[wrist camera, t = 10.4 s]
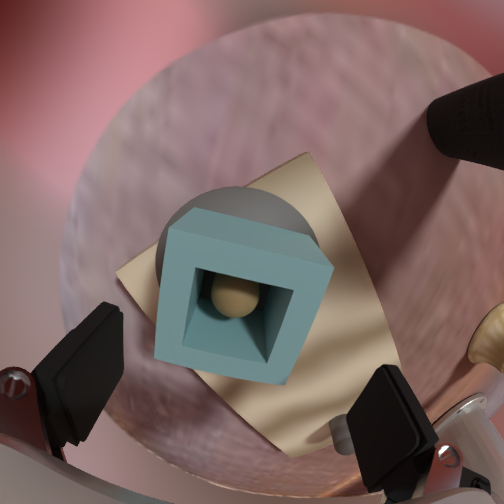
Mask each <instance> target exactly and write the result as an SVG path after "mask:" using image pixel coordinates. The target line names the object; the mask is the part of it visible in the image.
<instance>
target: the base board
mask: <svg viewBox="0 0 504 504" xmlns="http://www.w3.org/2000/svg"><path fill="white" fill-rule="evenodd" d="M194 207H196V208H201V209H205V210H209V211H213V212H218V213H222V214H226V215H230V216H234V217H239V218H243V219H247V220H251V221H255V222H259V223H263V224H267V225H271V226H275V227H279V228H283V229H286V230H290V231H294V232H298V233H302V234H305V235H309V236H310V237H311V238H312V240H313V241H314V242H315V243H316V245H317V246H318V247H319V248H320V250H321V251H322V252H323V254H324V255H325V256H326V257H327V259H328V260H329V261H330V263H331V264H332V265H333V267H334V270H333V273H332V275H331V278H330V281H329V283H328V286H327V289H326V291H325V294H324V296H323V299H322V302H321V304H320V307H319V309H318V312H317V314H316V316H315V319H314V321H313V324H312V326H311V328H310V331H309V333H308V335H307V338H306V340H305V342H304V345H303V347H302V349H301V351H300V354H299V356H298V358H297V360H296V362H295V365H294V367H293V369H292V371H291V373H290V375H289V377H288V380H287V382H286V384H285V386H283V385H276V384H269V383H262V382H256V381H250V380H244V379H238V378H233V377H228V376H223V375H218V374H213V373H209V372H204V371H200V370H196V369H193V370H194V371H195V372H196V373H197V374H198V375H199V376H200V377H201V378H202V379H203V380H204V381H205V382H206V383H207V384H208V385H209V386H210V387H211V388H212V389H213V390H214V391H215V392H216V393H217V394H218V395H219V396H220V397H221V398H222V399H223V400H224V401H225V402H226V403H227V404H228V405H229V406H230V407H232V408H233V409H234V410H235V411H236V412H237V413H238V414H239V415H240V416H241V417H242V418H244V419H245V420H246V421H247V422H248V423H249V424H250V425H251V426H253V427H254V428H255V429H256V430H257V431H258V432H260V433H261V434H262V435H263V436H264V437H266V438H267V439H268V440H269V441H270V442H272V443H273V444H274V445H275V446H277V447H278V448H279V449H280V450H282V451H283V452H284V453H286V454H287V455H288V456H289V457H291V458H295V457H298V456H301V455H304V454H307V453H310V452H313V451H316V450H319V449H321V448H324V447H327V446H329V445H332V444H334V448H335V450H336V451H337V452H338V453H339V454H341V455H351V454H353V453H355V450H354V446H353V443H352V439H351V436H350V432H349V429H348V425H347V422H346V415H347V413H348V411H349V410H350V408H351V407H352V406H353V404H354V403H355V401H356V400H357V398H358V397H359V395H360V394H361V392H362V391H363V389H364V388H365V386H366V385H367V383H368V382H369V380H370V378H371V377H372V375H373V374H374V372H375V370H376V369H377V368H378V367H380V366H381V365H382V364H391V365H397V366H398V367H399V369H400V371H401V372H402V374H403V371H402V367H401V364H400V360H399V357H398V354H397V351H396V347H395V344H394V341H393V338H392V335H391V332H390V329H389V326H388V323H387V320H386V318H385V315H384V312H383V309H382V306H381V304H380V301H379V298H378V296H377V293H376V291H375V288H374V285H373V283H372V280H371V278H370V275H369V273H368V271H367V268H366V266H365V263H364V261H363V259H362V256H361V254H360V252H359V249H358V247H357V245H356V243H355V240H354V238H353V236H352V234H351V231H350V229H349V227H348V225H347V223H346V221H345V219H344V217H343V214H342V212H341V210H340V208H339V206H338V204H337V202H336V200H335V198H334V196H333V194H332V192H331V190H330V188H329V186H328V185H327V183H326V181H325V179H324V177H323V175H322V173H321V171H320V169H319V168H318V166H317V164H316V162H315V160H314V159H313V157H312V155H311V153H310V152H305V153H302V154H300V155H298V156H296V157H294V158H293V159H291V160H289V161H287V162H285V163H284V164H282V165H280V166H278V167H276V168H275V169H273V170H271V171H269V172H268V173H266V174H264V175H262V176H261V177H259V178H257V179H255V180H254V181H252V182H250V183H248V184H247V185H245V186H243V187H225V188H220V189H215V190H211V191H209V192H206V193H204V194H201V195H199V196H197V197H196V198H194V199H192V200H190V201H189V202H188V203H186V204H185V205H184V206H182V207H181V208H180V209H179V210H178V211H177V212H176V213H175V214H174V215H173V216H172V218H171V219H170V220H169V222H168V223H167V225H166V226H165V228H164V230H163V232H162V234H161V237H160V240H158V241H157V242H155V243H154V244H152V245H151V246H149V247H148V248H146V249H145V250H143V251H142V252H141V253H139V254H138V255H136V256H135V257H133V258H132V259H131V260H129V261H128V262H126V263H125V264H124V265H123V266H122V267H121V268H120V269H118V270H117V271H116V272H115V274H116V275H117V276H118V278H119V279H120V281H121V282H122V283H123V285H124V286H125V288H126V289H127V290H128V292H129V293H130V294H131V296H132V297H133V298H134V300H135V301H136V302H137V304H138V305H139V306H140V307H141V309H142V310H143V311H144V313H145V314H146V315H147V316H148V318H149V319H150V320H151V321H152V323H153V324H154V325H155V326H156V322H157V312H158V302H159V293H160V284H161V276H162V269H163V261H164V254H165V248H166V241H167V235H168V229H169V227H170V226H171V225H173V224H174V223H175V222H176V221H178V220H179V219H180V218H181V217H183V216H184V215H185V214H186V213H188V212H189V211H190V210H191V209H193V208H194ZM270 286H271V285H269V284H265V283H260V282H256V281H252V280H247V279H243V278H239V277H234V276H230V275H226V274H222V273H217V272H213V271H209V270H205V271H204V276H203V281H202V286H201V291H200V296H199V297H203V298H207V299H211V300H212V302H213V304H214V306H215V308H216V309H217V310H218V311H219V312H220V313H221V314H223V315H225V316H227V317H231V318H240V317H244V316H246V315H248V314H249V313H251V312H252V311H253V310H254V309H256V310H260V311H263V309H264V305H265V302H266V299H267V296H268V293H269V290H270ZM403 376H404V374H403Z"/></svg>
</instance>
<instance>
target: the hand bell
mask: <svg viewBox="0 0 504 504" xmlns="http://www.w3.org/2000/svg"><path fill="white" fill-rule="evenodd" d="M468 360H469V361H470V362H472V363H482V362H483V363H488V364H490V365H492V366H494V367H495V368H497V369H498V370H499V371H500V372H501V373H504V303H502V304H500V305H498V306H496V307H495V308H494V309H493V310H491V311H490V312H489V313H488V315H487V316H486V317H485V318H484V319H483V321H482V322H481V324H480V325H479V327H478V328H477V330H476V332H475V333H474V335H473V337H472V339H471V342H470V344H469V348H468Z"/></svg>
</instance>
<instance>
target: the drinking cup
mask: <svg viewBox="0 0 504 504" xmlns="http://www.w3.org/2000/svg"><path fill="white" fill-rule="evenodd" d="M427 125H428V130H429V133H430V136H431V138H432V140H433V142H434V144H435V146H436V147H437V148H438V149H439V150H440V151H441V152H442V153H443V154H444V155H446V156H448V157H452V158H456V159H461V160H465V161H470V162H474V163H478V164H482V165H486V166H490V167H493V168H497V169H500V170H504V73H501V74H499V75H496V76H493V77H490V78H487V79H485V80H482V81H479V82H477V83H474V84H471V85H469V86H466V87H464V88H461V89H459V90H456V91H454V92H451V93H449V94H447V95H444V96H442V97H439V98H437V99H435V100H434V101H433V102H432V103H431V105H430V106H429V109H428V113H427Z"/></svg>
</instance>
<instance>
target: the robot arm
mask: <svg viewBox="0 0 504 504" xmlns="http://www.w3.org/2000/svg"><path fill="white" fill-rule="evenodd" d="M123 371H124V357H123V313H122V312H120V309H119V307H118V306H116V305H113V304H110V303H107V302H102V303H101V304H100V305H99V306H98V307H97V308H96V309H94V310H93V311H92V312H91V313H90V314H89V315H88V316H87V317H86V318H85V319H84V320H83V321H82V322H81V323H80V324H79V325H78V326H77V327H76V328H75V329H73V330H71V331H70V332H69V333H68V334H67V335H66V336H65V337H64V338H63V339H62V340H61V341H60V342H59V343H58V344H57V345H56V346H55V347H54V348H53V349H52V350H51V351H50V352H49V353H48V355H47V356H46V357H45V358H44V359H43V360H42V361H41V362H40V363H39V364H38V365H37V366H36V368H34V370H33V371H32V372H31V373H29V372H28V371H27V370H25V369H23V368H20V367H14V366H13V367H7V368H5V369H3V370H1V371H0V504H173V503H169V502H166V501H162V500H158V499H155V498H151V497H148V496H145V495H142V494H139V493H136V492H133V491H130V490H128V489H125V488H122V487H120V486H117V485H114V484H111V483H109V482H107V481H104V480H102V479H100V478H97V477H95V476H93V475H91V474H88V473H86V472H84V471H82V470H80V469H78V468H76V467H74V466H72V465H70V464H68V463H67V461H66V458H65V455H64V452H63V448H62V447H64V446H65V444H66V442H69V443H71V444H73V445H75V446H78V444H79V442H80V441H82V442H84V441H85V440H86V439H87V437H88V435H89V433H90V431H91V430H92V428H93V426H94V424H95V422H96V421H97V419H98V417H99V415H100V413H101V412H102V410H103V408H104V406H105V405H106V403H107V401H108V399H109V397H110V396H111V394H112V392H113V391H114V389H115V387H116V385H117V384H118V382H119V380H120V379H121V377H122V374H123ZM486 404H487V398H486V397H485V395H484V394H481V393H480V394H475V395H473V396H471V397H469V398H467V399H465V400H464V401H462V402H460V403H459V404H458V405H456V406H455V407H453V408H452V409H451V410H450V411H448V412H447V413H446V414H445V415H444V416H442V417H441V418H440V419H439V420H438V421H437V422H436V423H435V424H434V425H433V426H432V425H431V423H430V421H429V419H428V417H427V415H426V414H425V412H424V410H423V408H422V407H421V405H420V403H419V401H418V400H417V398H416V396H415V394H414V393H413V391H412V389H411V387H410V386H409V384H408V382H407V381H406V379H405V377H404V376H403V374H402V372H401V371H400V369H399V367H398V366H397V365H391V364H382V365H381V366H380V367H378V368H377V369H376V370H375V372H374V374H373V375H372V377H371V378H370V380H369V382H368V383H367V385H366V386H365V388H364V389H363V391H362V392H361V394H360V395H359V397H358V398H357V400H356V401H355V403H354V404H353V406H352V407H351V408H350V410H349V411H348V413H347V415H346V422H347V425H348V429H349V432H350V436H351V439H352V443H353V446H354V450H355V454H356V457H357V461H358V465H359V468H360V472H361V476H362V480H363V483H364V485H365V487H367V489H368V493H373V492H378V491H381V490H382V489H384V494H383V496H382V498H381V500H380V502H379V504H504V441H503V439H502V437H501V436H500V435H499V433H498V431H497V430H496V428H495V427H494V425H493V424H492V423H491V421H490V419H489V418H488V417H487V415H486V414H485V412H484V411H483V410H484V408H485V406H486Z"/></svg>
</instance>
